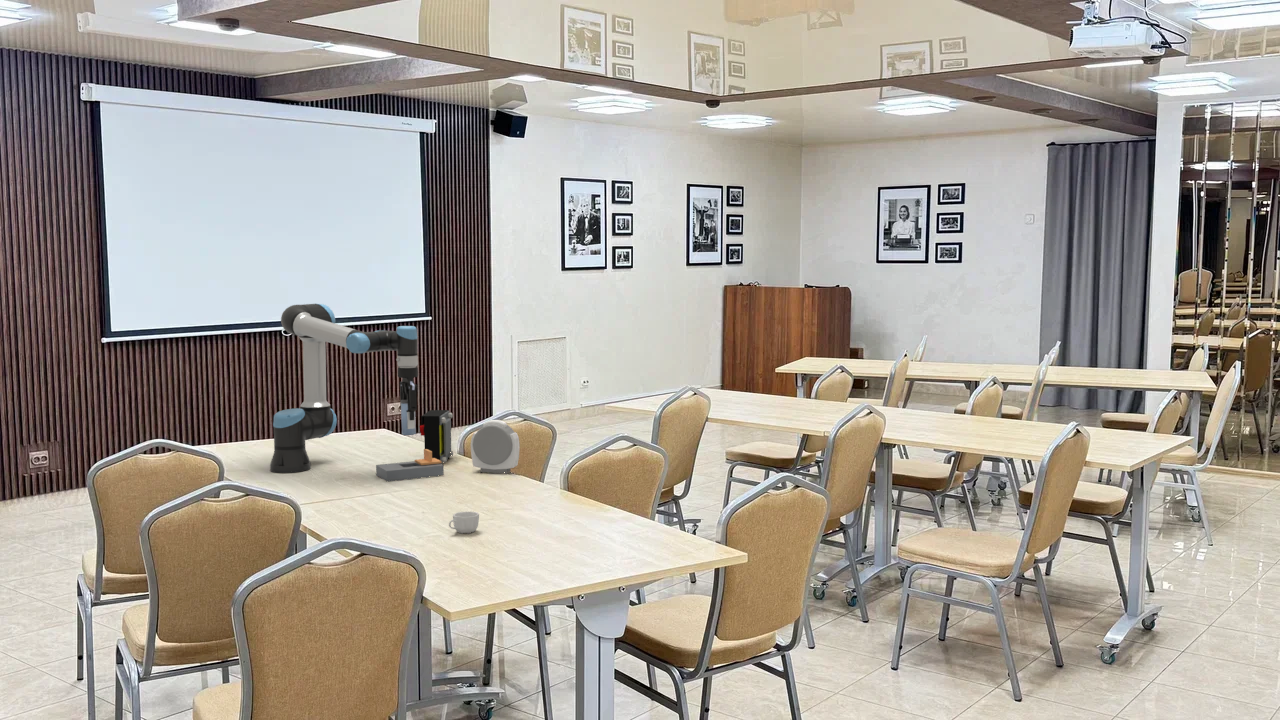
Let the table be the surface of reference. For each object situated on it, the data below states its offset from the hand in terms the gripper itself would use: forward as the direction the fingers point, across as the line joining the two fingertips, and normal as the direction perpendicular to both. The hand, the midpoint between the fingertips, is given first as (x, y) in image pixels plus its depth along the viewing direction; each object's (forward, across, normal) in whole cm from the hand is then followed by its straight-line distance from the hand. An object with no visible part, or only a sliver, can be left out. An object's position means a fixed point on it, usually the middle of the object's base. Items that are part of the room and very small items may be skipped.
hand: (408, 427), depth 399 cm
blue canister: (+3, 0, 0) cm, 3 cm away
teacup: (+19, +92, -13) cm, 95 cm away
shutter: (+14, 0, +7) cm, 16 cm away
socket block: (+19, 0, 0) cm, 19 cm away
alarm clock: (+19, +10, +31) cm, 38 cm away
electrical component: (+19, -23, +19) cm, 35 cm away
